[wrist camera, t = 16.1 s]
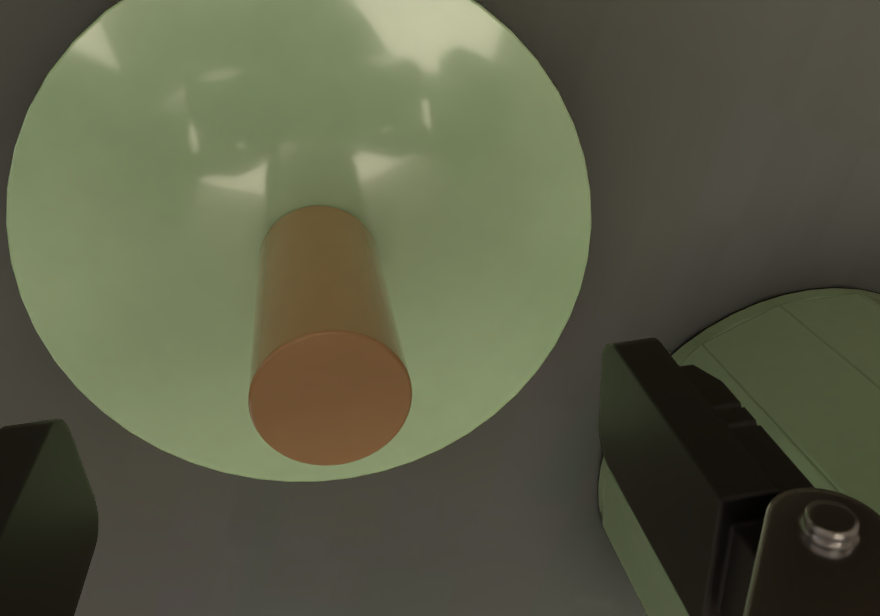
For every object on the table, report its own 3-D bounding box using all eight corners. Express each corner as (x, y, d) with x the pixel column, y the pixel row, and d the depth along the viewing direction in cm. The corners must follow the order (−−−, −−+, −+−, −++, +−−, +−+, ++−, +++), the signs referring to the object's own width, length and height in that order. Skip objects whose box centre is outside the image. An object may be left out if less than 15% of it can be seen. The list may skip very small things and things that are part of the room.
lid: (109, 490, 20) (39, 725, 14) (-73, -31, 14) (-318, 19, 8) (570, 417, 22) (672, 603, 16) (584, -80, 16) (756, -67, 10)
